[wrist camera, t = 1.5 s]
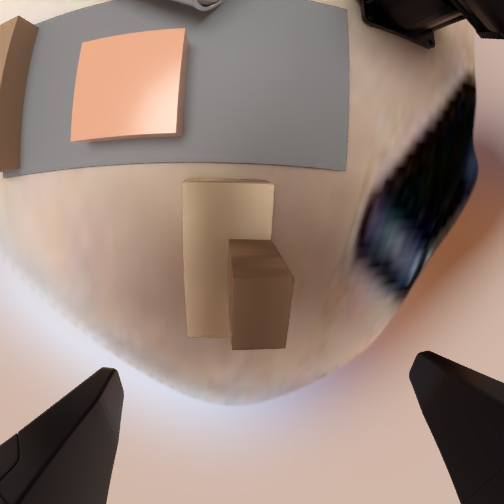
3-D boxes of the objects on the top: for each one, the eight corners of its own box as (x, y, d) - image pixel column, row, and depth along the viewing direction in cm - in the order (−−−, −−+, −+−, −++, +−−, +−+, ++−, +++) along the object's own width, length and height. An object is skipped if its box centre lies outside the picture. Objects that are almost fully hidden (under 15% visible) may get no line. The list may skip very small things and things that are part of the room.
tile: (189, 44, 13) (185, 28, 11) (182, 136, 15) (175, 132, 13) (97, 54, 13) (82, 42, 10) (89, 142, 14) (70, 141, 12)
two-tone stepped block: (265, 180, 17) (301, 197, 10) (257, 312, 20) (278, 394, 12) (188, 178, 17) (163, 194, 9) (191, 312, 19) (179, 396, 12)
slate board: (345, 11, 13) (365, -9, 10) (343, 170, 17) (368, 174, 14) (23, 31, 11) (1, 20, 7) (5, 177, 14) (-23, 183, 11)
